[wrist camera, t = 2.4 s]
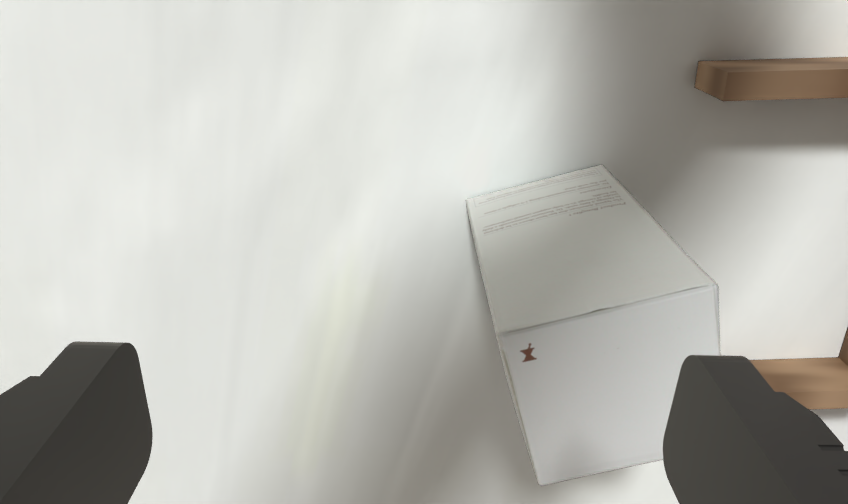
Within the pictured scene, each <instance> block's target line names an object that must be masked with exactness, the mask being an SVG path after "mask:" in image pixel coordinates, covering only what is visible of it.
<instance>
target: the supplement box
mask: <svg viewBox="0 0 848 504" xmlns="http://www.w3.org/2000/svg"><path fill="white" fill-rule="evenodd" d="M466 205H467V210H468V215H469V220H470V225H471V230H472V234H473V239H474V243H475V248H476V252H477V257H478V261H479V265H480V270H481V274H482V278H483V282H484V287H485V291H486V295H487V299H488V303H489V308H490V312H491V316H492V320H493V325H494V329H495V333H496V338H497V342H498V346H499V350H500V354H501V359H502V363H503V367H504V371H505V375H506V378H507V382H508V386H509V389H510V393H511V397H512V400H513V404H514V407H515V411H516V414H517V417H518V421H519V424H520V427H521V431H522V434H523V437H524V440H525V443H526V447H527V450H528V453H529V456H530V460H531V463H532V466H533V469H534V473H535V476H536V479H537V482H538V484H539V485H541V486H543V485H548V484H553V483H557V482H562V481H566V480H570V479H575V478H580V477H584V476H588V475H593V474H598V473H603V472H607V471H612V470H617V469H622V468H626V467H631V466H636V465H640V464H645V463H650V462H655V461H659V460H663V438H664V433H665V429H666V425H667V421H668V417H669V413H670V409H671V405H672V401H673V397H674V393H675V389H676V385H677V381H678V377H679V373H680V370H681V366H682V364H683V362H684V360H685V359H686V358H687V357H688V356H690V355H716V356H721V355H720V324H719V296H718V285H717V283H716V282H715V281H714V280H713V279H712V278H711V277H710V276H709V275H708V274H707V273H705V272H704V271H703V270H702V269H701V268H700V267H699V266H698V265H697V264H696V263H695V262H694V261H693V260H692V259H691V258H690V257H689V256H688V255H687V253H686V252H685V251H684V250H683V249H682V248H681V247H680V246H679V245H678V244H677V243H676V242H675V241H674V240H673V239H672V238H671V237H670V236H669V234H668V233H667V232H666V231H665V230H664V229H663V228H662V227H661V226H660V225H659V223H658V222H656V221H655V219H654V218H653V217H652V216H651V215H650V214H649V213H648V212H647V211H646V210H645V209H644V208H643V207H642V205H641V204H640V203H639V202H638V201H637V200H636V199H635V198H634V197H633V196H632V195H631V194H630V193H629V192H628V191H627V190H626V189H625V187H624V186H623V185H622V184H621V183H620V182H618V181H617V180H616V179H615V178H614V176H613V175H612V174H611V173H610V172H609V171H608V170H607V169H606V168H605V167H604V166H603V165H598V166H594V167H590V168H586V169H582V170H577V171H573V172H570V173H566V174H562V175H558V176H554V177H550V178H546V179H542V180H538V181H535V182H531V183H527V184H523V185H519V186H515V187H511V188H507V189H504V190H500V191H496V192H492V193H488V194H484V195H480V196H477V197H473V198H468V199H466Z"/></svg>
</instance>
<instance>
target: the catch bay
mask: <svg viewBox="0 0 848 504" xmlns="http://www.w3.org/2000/svg"><path fill="white" fill-rule="evenodd" d="M695 88H697V89H699V90H701V91H703V92H705V93H707V94H709V95H711V96H714V97H716V98H718V99H720V100H722V101H742V100H778V99H813V98H848V57H832V58H796V59H759V60H723V61H699V62H698V69H697V75H696V81H695ZM749 361H750V362H751V363H752V364H753V365H754V366H755V368H756V369H757V370H758V371H759V373H760V374H761V375H762V376H763V378H764V379H765V380H766V381H767V383H768V384H769V385H770V386H771V388H772V389H773V390H774V391H775V392H784V393H786V394H787V395H789V396H790V397H792V398H793V399H794V400H796V401H797V402H799V403H800V404H802V405H803V406H804V407H806V408H807V409H836V408H848V329H847V332H846V336H845V339H844V342H843V345H842V348H841V351H840V355H839V357H836V358H805V359H773V360H749Z"/></svg>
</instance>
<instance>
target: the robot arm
mask: <svg viewBox="0 0 848 504" xmlns="http://www.w3.org/2000/svg"><path fill="white" fill-rule="evenodd" d="M843 446H844V445H843V444H842V443H841V442H840V441H839V439H838V438H837V437H836V436H835V435H834V434H833V433H832V431H831V430H830V429H829V428H828V427H827V426H826V424H825V423H824V422H823V421H822V420H821V419H820V417H819V416H817V415H816V414H814V413H813V412H812V411H810V410H809V409H807V408H806V407H804V406H803V405H802V404H800V403H799V402H797V401H796V400H794V399H793V398H792V397H790V396H789V395H787V394H786V393H784V392H775V391H774V390H773V389H772V388H771V386H770V385H769V384H768V383H767V381H766V380H765V379H764V378H763V376H762V375H761V374H760V373H759V371H758V370H757V369H756V368H755V366H754V365H753V364H752V363H751V362H750V361H749V360H748V359H747V358H745V357H743V356H716V355H690V356H688V357H687V358H686V359H685V360H684V362H683V364H682V366H681V370H680V373H679V377H678V381H677V385H676V389H675V393H674V397H673V401H672V405H671V409H670V413H669V417H668V421H667V425H666V429H665V433H664V438H663V460H664V466H665V471H666V474H667V478H668V480H669V483H670V485H671V487H672V489H673V491H674V493H675V495H676V497H677V500H678V502H679V504H848V451H844V449H843ZM151 447H152V425H151V419H150V414H149V409H148V404H147V399H146V394H145V389H144V384H143V379H142V374H141V368H140V363H139V358H138V354H137V352H136V349H135V348H134V346H133V345H132V344H130V343H115V342H73V343H71V344H69V345H68V346H67V347H66V348H65V349H64V350H63V351H62V352H61V353H60V354H59V356H58V357H57V358H56V359H55V360H54V361H53V362H52V363H51V364H50V366H49V367H48V368H47V369H46V370H45V371H44V372H43V373H42V374H41V376H30V377H28V378H27V379H25V380H23V381H22V382H20V383H19V384H17V385H15V386H14V387H12V388H10V389H9V390H7V391H6V392H4V393H2V394H1V395H0V504H128V502H129V500H130V498H131V496H132V494H133V492H134V490H135V489H136V487H137V485H138V483H139V481H140V479H141V477H142V475H143V474H144V471H145V469H146V467H147V464H148V461H149V457H150V453H151Z"/></svg>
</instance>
